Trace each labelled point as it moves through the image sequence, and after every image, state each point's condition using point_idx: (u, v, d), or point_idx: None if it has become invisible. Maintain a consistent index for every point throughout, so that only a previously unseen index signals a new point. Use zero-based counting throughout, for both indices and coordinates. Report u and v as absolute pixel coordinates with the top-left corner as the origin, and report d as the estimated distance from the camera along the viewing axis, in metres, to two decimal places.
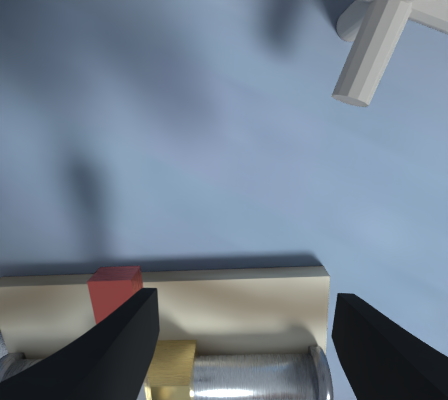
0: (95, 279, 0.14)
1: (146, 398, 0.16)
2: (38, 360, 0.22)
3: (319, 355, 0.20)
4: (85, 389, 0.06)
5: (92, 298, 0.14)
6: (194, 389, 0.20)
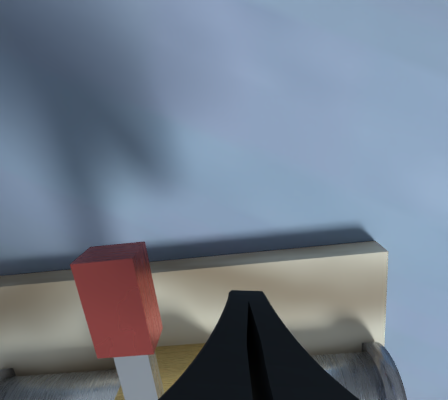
0: (82, 261, 0.10)
1: None
2: (29, 377, 0.18)
3: (381, 353, 0.16)
4: None
5: (79, 288, 0.10)
6: None
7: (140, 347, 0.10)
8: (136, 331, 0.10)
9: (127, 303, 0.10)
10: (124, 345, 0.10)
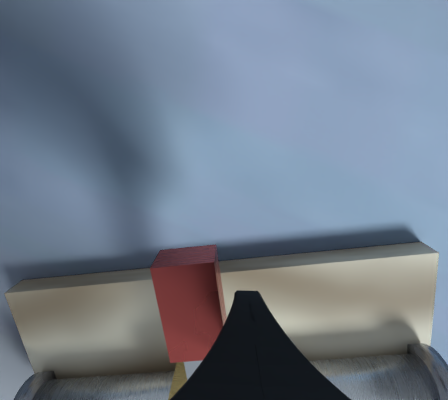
0: (160, 265, 0.10)
1: None
2: (72, 380, 0.18)
3: (432, 355, 0.15)
4: None
5: (157, 292, 0.10)
6: None
7: None
8: (212, 335, 0.10)
9: (206, 306, 0.10)
10: (198, 349, 0.10)
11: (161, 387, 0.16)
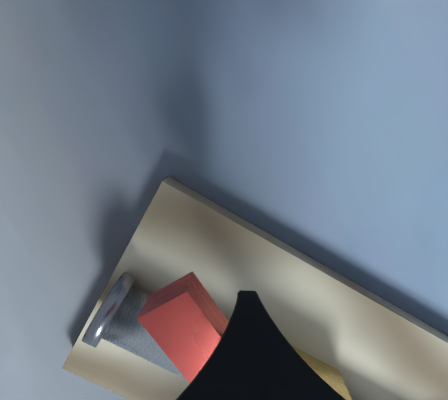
0: (146, 311, 0.10)
1: None
2: None
3: None
4: None
5: (154, 336, 0.10)
6: None
7: None
8: None
9: (201, 332, 0.10)
10: None
11: None
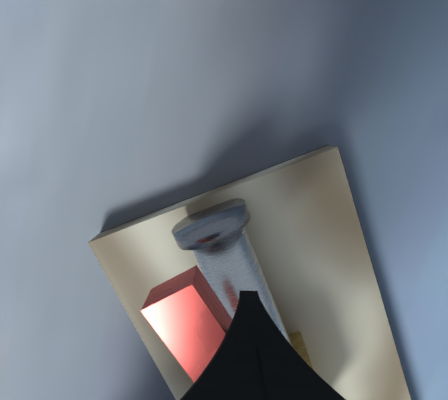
0: (149, 303, 0.10)
1: None
2: None
3: None
4: None
5: (157, 329, 0.10)
6: None
7: None
8: None
9: (204, 326, 0.10)
10: None
11: None
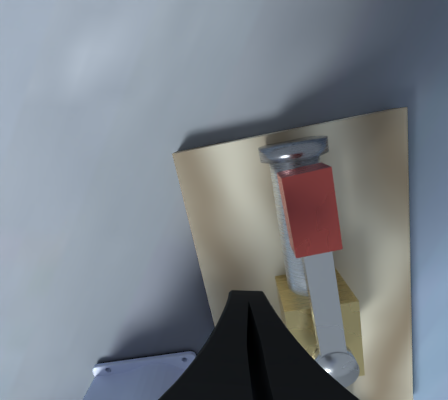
0: (287, 176, 0.12)
1: (341, 316, 0.14)
2: None
3: None
4: None
5: (286, 198, 0.12)
6: None
7: (332, 244, 0.13)
8: (330, 230, 0.13)
9: (325, 205, 0.12)
10: (319, 244, 0.13)
11: None
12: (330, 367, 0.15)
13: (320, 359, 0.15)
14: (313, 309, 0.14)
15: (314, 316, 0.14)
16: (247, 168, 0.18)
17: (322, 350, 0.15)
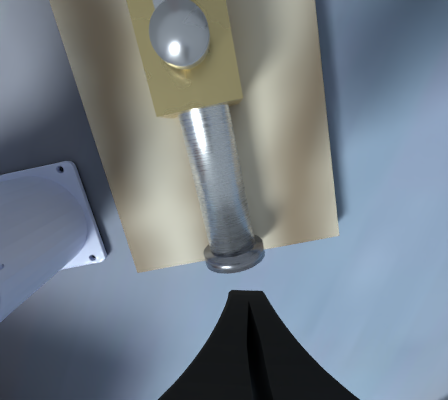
0: None
1: None
2: None
3: (263, 246, 0.18)
4: None
5: None
6: (211, 107, 0.15)
7: None
8: None
9: None
10: None
11: None
12: (168, 24, 0.11)
13: (154, 13, 0.11)
14: None
15: None
16: None
17: None
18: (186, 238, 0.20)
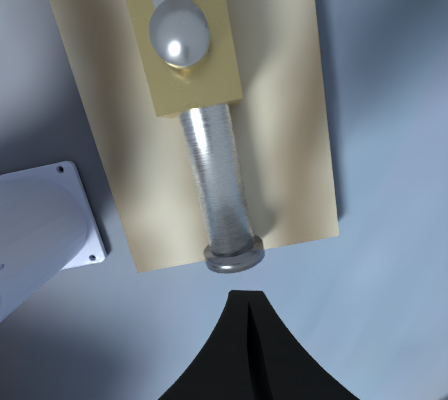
0: None
1: None
2: None
3: (263, 246, 0.18)
4: None
5: None
6: (211, 107, 0.15)
7: None
8: None
9: None
10: None
11: None
12: (168, 24, 0.11)
13: (154, 13, 0.11)
14: None
15: None
16: None
17: None
18: (186, 238, 0.20)
